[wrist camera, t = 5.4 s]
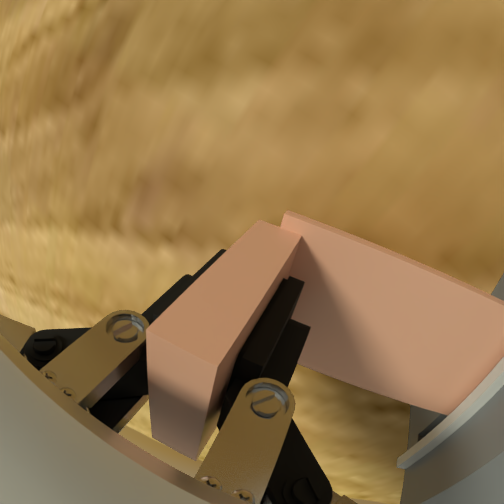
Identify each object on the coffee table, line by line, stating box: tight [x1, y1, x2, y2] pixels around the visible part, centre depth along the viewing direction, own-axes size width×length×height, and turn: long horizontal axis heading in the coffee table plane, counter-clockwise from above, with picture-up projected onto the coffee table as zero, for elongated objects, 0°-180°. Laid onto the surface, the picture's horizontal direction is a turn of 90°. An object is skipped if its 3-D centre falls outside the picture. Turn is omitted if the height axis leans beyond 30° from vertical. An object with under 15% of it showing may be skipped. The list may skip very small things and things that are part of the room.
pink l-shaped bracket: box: [146, 210, 504, 461], centre depth 8 cm, size 18×6×6 cm, turn 76°
